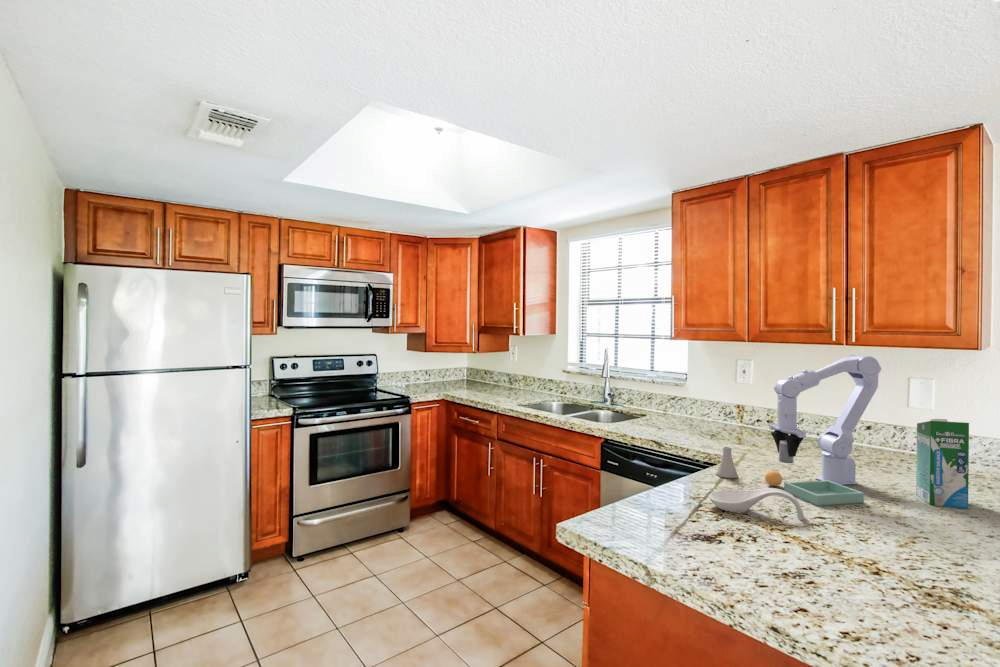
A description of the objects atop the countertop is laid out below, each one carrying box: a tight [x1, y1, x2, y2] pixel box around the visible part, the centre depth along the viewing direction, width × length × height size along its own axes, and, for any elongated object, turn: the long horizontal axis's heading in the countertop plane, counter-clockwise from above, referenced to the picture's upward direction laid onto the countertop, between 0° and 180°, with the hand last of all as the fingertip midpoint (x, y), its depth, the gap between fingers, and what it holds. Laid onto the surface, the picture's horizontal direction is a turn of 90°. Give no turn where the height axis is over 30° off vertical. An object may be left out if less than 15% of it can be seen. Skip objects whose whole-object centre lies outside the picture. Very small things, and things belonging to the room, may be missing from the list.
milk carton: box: [915, 418, 970, 510], centre depth 150 cm, size 9×9×25 cm
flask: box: [716, 446, 739, 479], centre depth 176 cm, size 7×7×10 cm
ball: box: [764, 470, 783, 487], centre depth 165 cm, size 5×5×5 cm
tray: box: [783, 480, 865, 507], centre depth 154 cm, size 16×13×3 cm
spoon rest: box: [708, 487, 805, 522], centre depth 141 cm, size 24×12×7 cm, turn 67°
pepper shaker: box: [778, 440, 795, 464], centre depth 171 cm, size 4×4×7 cm
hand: (786, 454), depth 171 cm, fingers closed on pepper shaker, 4 cm apart
